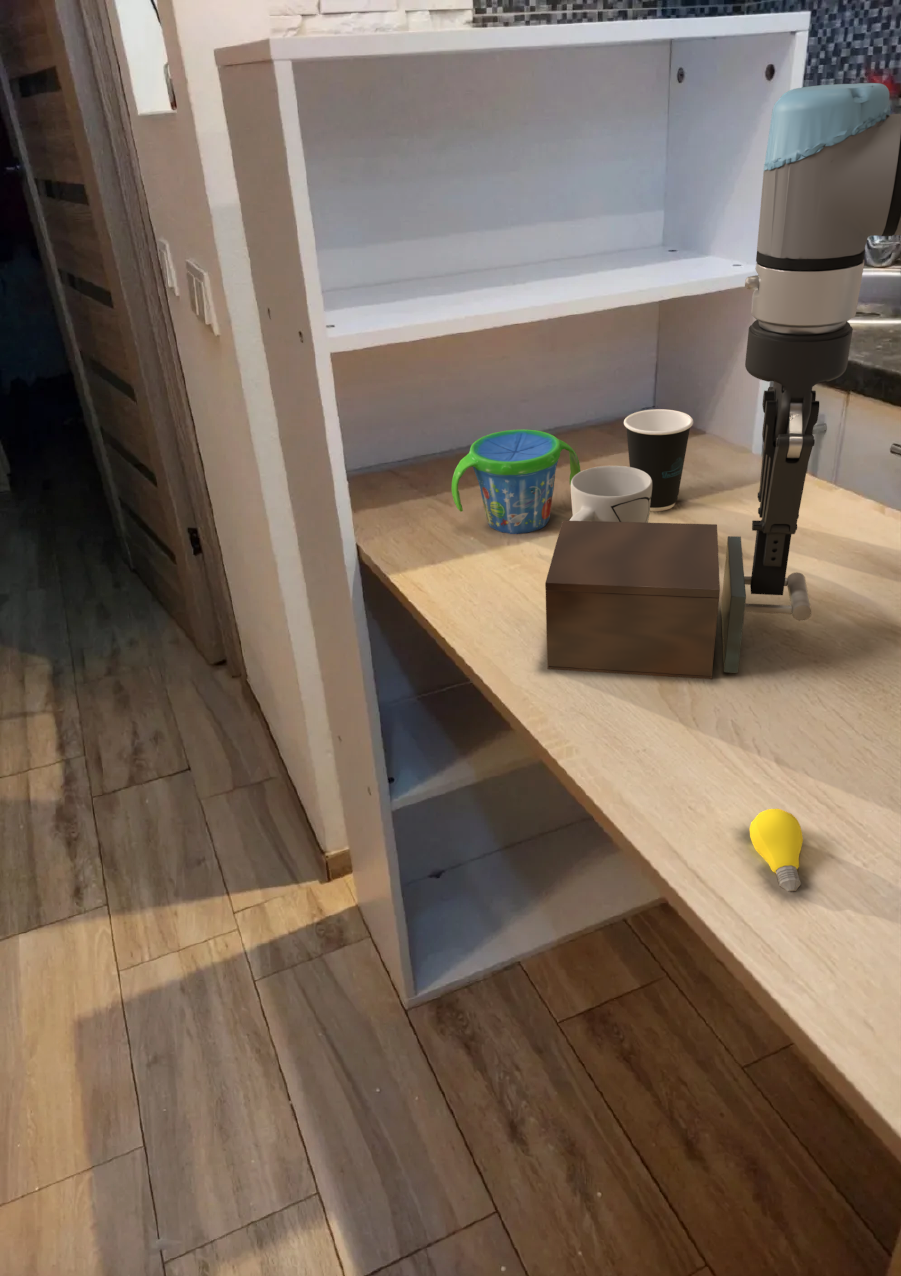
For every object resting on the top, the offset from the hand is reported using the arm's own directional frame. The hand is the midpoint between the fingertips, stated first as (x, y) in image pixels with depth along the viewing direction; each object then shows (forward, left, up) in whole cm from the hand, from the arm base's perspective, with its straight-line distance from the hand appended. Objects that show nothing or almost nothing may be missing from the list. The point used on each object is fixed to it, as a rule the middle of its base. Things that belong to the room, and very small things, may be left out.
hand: (766, 590), depth 83 cm
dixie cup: (+11, -31, -6) cm, 33 cm away
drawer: (+6, 0, -5) cm, 8 cm away
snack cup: (+27, -25, -6) cm, 37 cm away
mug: (+16, -14, -6) cm, 22 cm away
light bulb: (0, +28, -6) cm, 28 cm away
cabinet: (+12, 0, -6) cm, 13 cm away
